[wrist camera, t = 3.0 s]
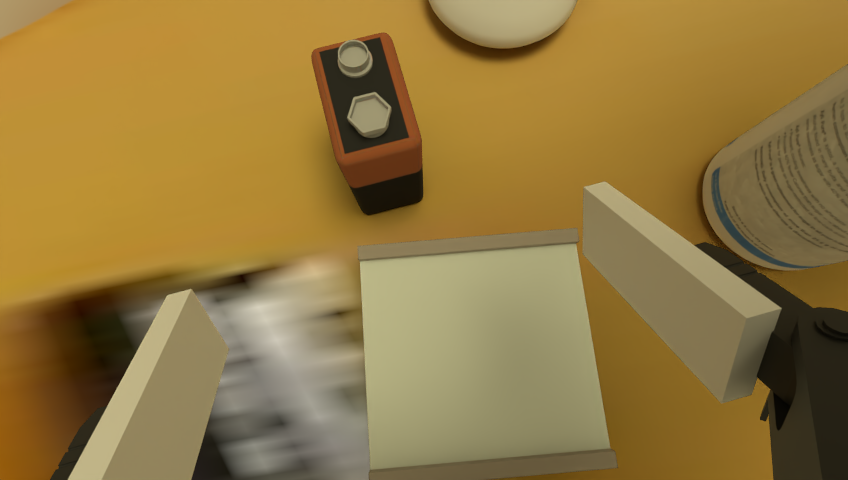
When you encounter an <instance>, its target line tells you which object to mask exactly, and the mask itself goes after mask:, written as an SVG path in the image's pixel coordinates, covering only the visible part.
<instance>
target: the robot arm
mask: <svg viewBox="0 0 848 480" xmlns="http://www.w3.org/2000/svg"><path fill="white" fill-rule="evenodd" d="M583 255H584V256H585V257H586V258H587V259H588V260H589V261H590V262H591V264H592V265H593V266H594V267H595V268H596V269H597V270H598V271H599V272H600V273H601V274H602V275H603V276H604V278H605V279H606V280H607V281H608V282H609V283H610V284H611V285H612V286H613V287H614V288H615V289H616V290H617V292H618V293H619V294H620V295H621V296H622V297H623V298H624V299H625V300H626V301H627V302H628V303H629V304H630V306H631V307H632V308H633V309H634V310H635V311H636V312H637V313H638V314H639V315H640V316H641V317H642V318H643V320H644V321H645V322H646V323H647V324H648V325H649V326H650V327H651V328H652V329H653V330H654V331H655V332H656V334H657V335H658V336H659V337H660V338H661V339H662V340H663V341H664V342H665V343H666V344H667V345H668V346H669V348H670V349H671V350H672V351H673V352H674V353H675V354H676V355H677V356H678V357H679V358H680V359H681V360H682V362H683V363H684V364H685V365H686V366H687V367H688V368H689V369H690V370H691V371H692V372H693V373H694V375H695V376H696V377H697V378H698V379H699V380H700V381H701V382H702V383H703V384H704V385H705V386H706V387H707V389H708V390H709V391H710V392H711V393H712V394H713V395H714V396H715V397H716V398H717V399H718V400H719V401H720V403H725V402H728V401H732V400H735V399H738V398H742V397H745V396H749V395H752V392H753V389H754V386H755V383H756V380H757V377H758V378H759V379H760V380H761V381H762V382H763V383H764V384H765V385H766V386H767V387H769V388H770V389H771V390H770V392H769V395H768V397H767V400H766V403H765V405H764V408H763V410H762V414H761V417H760V420H763V421H766V420H767V417H768V414H769V424H770V438H771V451H772V465H773V478H774V480H848V312H846V311H842V310H838V309H834V308H821V307H818V308H812V307H811V306H809V305H808V304H806V303H805V302H803V301H802V300H800V299H799V298H797V297H796V296H794V295H793V294H791V293H790V292H788V291H787V290H785V289H784V288H782V287H781V286H779V285H778V284H776V283H775V282H773V281H772V280H770V279H769V278H767V277H766V276H764V275H763V274H761V273H757V270H755V269H754V268H753V267H751V266H750V265H748V264H744V263H743V261H742V260H741V259H739V258H738V257H736V256H735V255H733V254H732V253H730V252H729V251H727V250H725V249H722V248H720V247H717V246H714V245H711V244H709V243H706V242H704V243H701V244H697V245H693V244H692V243H690V242H689V241H687V240H686V239H685V238H683V237H682V236H680V235H679V234H678V233H676V232H675V231H673V230H672V229H671V228H669V227H668V226H666V225H665V224H664V223H662V222H661V221H660V220H658V219H657V218H655V217H654V216H653V215H651V214H650V213H648V212H647V211H646V210H644V209H643V208H641V207H640V206H639V205H637V204H636V203H635V202H633V201H632V200H630V199H629V198H628V197H626V196H625V195H623V194H622V193H621V192H619V191H618V190H616V189H615V188H614V187H612V186H611V185H610V184H608V183H607V182H601V183H597V184H594V185H590V186H586V187H584V193H583ZM228 351H229V348H228V347H227V345H226V344H225V342H224V340H223V339H222V337H221V335H220V334H219V332H218V331H217V329H216V327H215V326H214V324H213V323H212V321H211V319H210V318H209V316H208V315H207V313H206V311H205V310H204V308H203V307H202V305H201V303H200V302H199V300H198V299H197V297H196V295H195V294H194V292H193V291H192V289H189V290H186V291H182V292H178V293H174V294H170V295H167V297H166V299H165V301H164V302H163V304H162V306H161V308H160V310H159V312H158V314H157V315H156V317H155V319H154V321H153V323H152V325H151V327H150V328H149V330H148V332H147V334H146V336H145V338H144V339H143V341H142V343H141V345H140V347H139V349H138V351H137V352H136V354H135V356H134V358H133V360H132V362H131V364H130V365H129V367H128V369H127V371H126V373H125V375H124V376H123V378H122V380H121V382H120V384H119V386H118V388H117V389H116V391H115V393H114V395H113V397H112V399H111V401H110V402H109V404H108V406H105V407H101V408H98V409H97V410H96V411H95V412H94V413H93V414H92V415H91V416H90V418H89V419H88V420H87V421H86V422H85V423H84V424H83V425H82V426H81V427H80V429H79V430H78V432H77V434H76V436H75V437H74V439H73V441H72V442H71V444H70V446H69V448H68V449H69V451H68V452H66V453H65V455H64V456H63V458H62V460H61V462H60V463H59V465H58V466H59V469H57V470H55V472H54V474H53V475H52V477H51V479H50V480H191V478H192V475H193V471H194V468H195V464H196V461H197V457H198V454H199V450H200V447H201V444H202V440H203V437H204V433H205V430H206V426H207V423H208V419H209V416H210V413H211V409H212V406H213V402H214V399H215V395H216V392H217V388H218V385H219V382H220V378H221V375H222V371H223V368H224V364H225V361H226V357H227V354H228Z"/></svg>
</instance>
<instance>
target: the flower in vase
mask: <svg viewBox="0 0 848 480" xmlns="http://www.w3.org/2000/svg"><path fill="white" fill-rule="evenodd" d="M576 2H577V0H429V3H430V5H431V7H432V9H433V11H434V12H435V14H436V15H437V16H438V18H439V19H440V20H441V21H442V22H443V23H444V24H445V25H446V26H447V27H448V28H449V29H450V30H452V31H453V32H454V33H455V34H457V35H458V36H460V37H462V38H463V39H465V40H467V41H469V42H472V43H474V44H477V45H480V46H485V47H489V48H516V47H521V46H525V45H529V44H531V43H534V42H537V41H539V40H542V39H543V38H545V37H547V36H549V35H551V34H552V33H553V32H555V31H556V30H557V29H559V28H560V27H561V26H562V25H563V24H564V23H565V21H566V20H567V19H568V18H569V16H570V15H571V13H572V11H573V9H574V7H575V5H576Z"/></svg>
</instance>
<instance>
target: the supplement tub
mask: <svg viewBox="0 0 848 480" xmlns="http://www.w3.org/2000/svg"><path fill="white" fill-rule="evenodd" d="M702 192H703V205H704V210H705V213H706V216H707V219H708V221H709V223H710V225H711V227H712V228H713V230H714V232H715V233H716V234H717V236H718V237H719V238H720V239H721V240H722V241H723V243H724V244H725V245H727V246H728V247H729V248H730V249H731V250H732V251H734V252H735V253H736V254H738V255H739V256H741V257H742V258H744V259H746V260H748V261H750V262H752V263H754V264H757V265H760V266H763V267H766V268H771V269H777V270H803V269H808V268H813V267H819V266H824V265H829V264H834V263H839V262H843V261H848V64H847V65H845V66H844V67H842V68H841V69H840V70H838V71H837V72H835V73H834V74H832V75H831V76H829V77H828V78H826V79H825V80H823V81H822V82H820V83H819V84H817V85H816V86H814V87H813V88H811V89H810V90H808V91H807V92H805V93H804V94H802V95H801V96H799V97H798V98H796V99H795V100H793V101H792V102H790V103H789V104H787V105H786V106H784V107H783V108H781V109H780V110H778V111H777V112H775V113H774V114H772V115H771V116H769V117H768V118H766V119H765V120H763V121H762V122H760V123H759V124H758V125H756V126H754V127H753V128H751V129H750V130H748V131H747V132H745V133H744V134H743V135H741V136H740V137H738V138H737V139H735V140H734V141H732V142H731V143H729V144H728V145H727V146H725V147H724V148H723V149H721V150H720V151H719V152H718V153H717V154H716V155H715V157H714V158H713V159H712V161H711V162H710V164H709V166H708V168H707V170H706V173H705V175H704V180H703V190H702Z"/></svg>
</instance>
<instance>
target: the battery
mask: <svg viewBox="0 0 848 480" xmlns="http://www.w3.org/2000/svg"><path fill="white" fill-rule="evenodd" d="M312 64H313V68H314V72H315V77H316V81H317V85H318V89H319V93H320V97H321V101H322V105H323V109H324V113H325V117H326V121H327V125H328V130H329V134H330V138H331V142H332V146H333V150H334V154H335V158H336V161H337V163H338V165H339V167H340V169H341V171H342V173H343V175H344V177H345V178H346V180H347V182H348V184H349V186H350V188H351V190H352V192H353V194H354V196H355V198H356V200H357V202H358V204H359V206H360V208H361V210H362V211H363V212H364V213H365V214H367V215H369V214H374V213H377V212H381V211H385V210H389V209H392V208H396V207H400V206H404V205H408V204H411V203H415V202H418V201H420V200H421V199H422V198H423V170H422V140H421V135H420V131H419V128H418V125H417V121H416V118H415V114H414V111H413V108H412V104H411V101H410V98H409V94H408V91H407V88H406V84H405V81H404V78H403V74H402V71H401V67H400V64H399V61H398V57H397V54H396V51H395V47H394V44H393V41H392V39H391V37H390V36H389V35H388V34H387V33H378V34H374V35H370V36H366V37H362V38H358V39H354V40H349V41H345V42H341V43H337V44H333V45H329V46H325V47H321V48H317V49H315V50H314V51H313V52H312Z"/></svg>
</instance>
